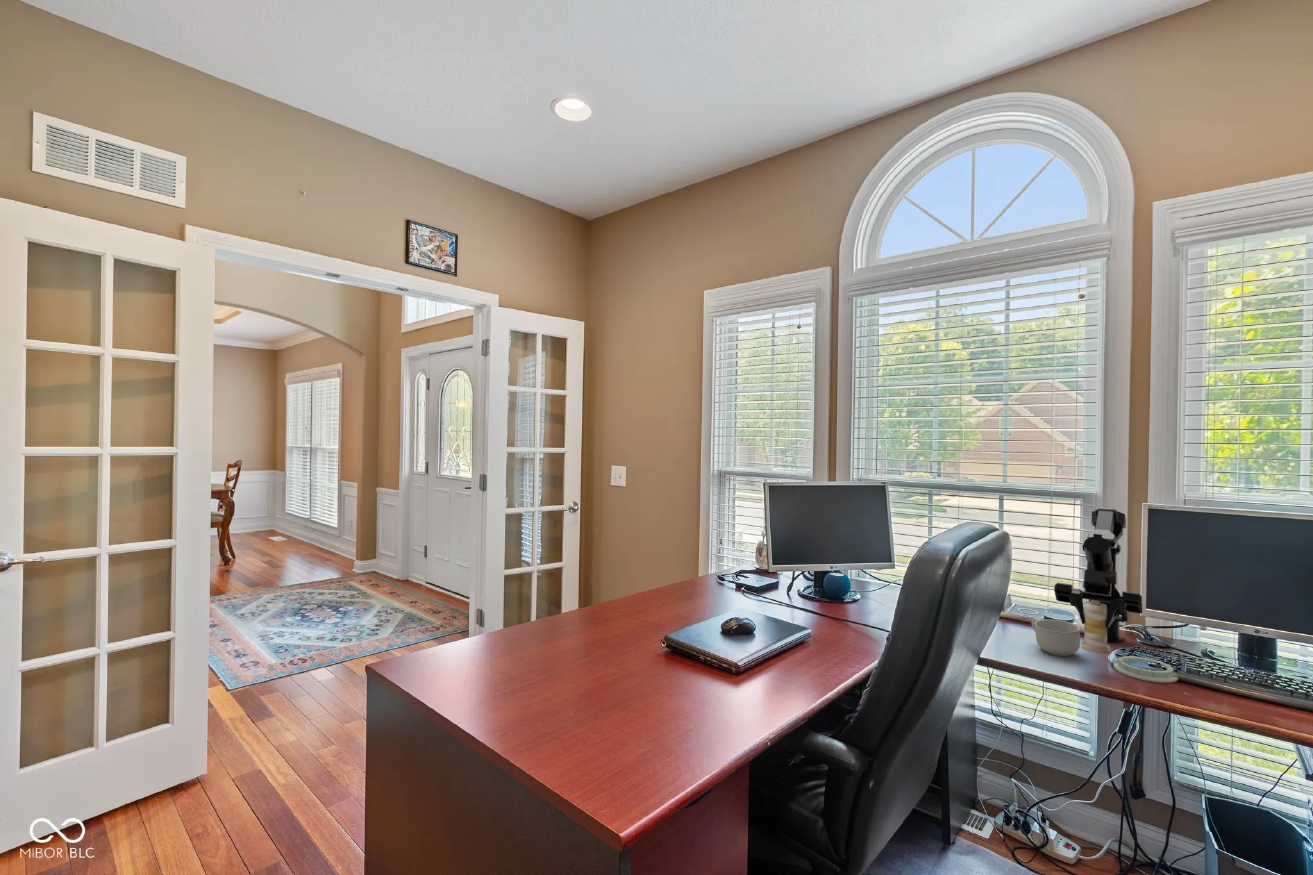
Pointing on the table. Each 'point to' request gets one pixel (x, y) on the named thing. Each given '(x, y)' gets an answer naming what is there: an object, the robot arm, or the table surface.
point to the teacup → (1057, 636)
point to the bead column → (1095, 627)
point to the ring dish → (1145, 671)
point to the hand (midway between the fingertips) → (1094, 625)
